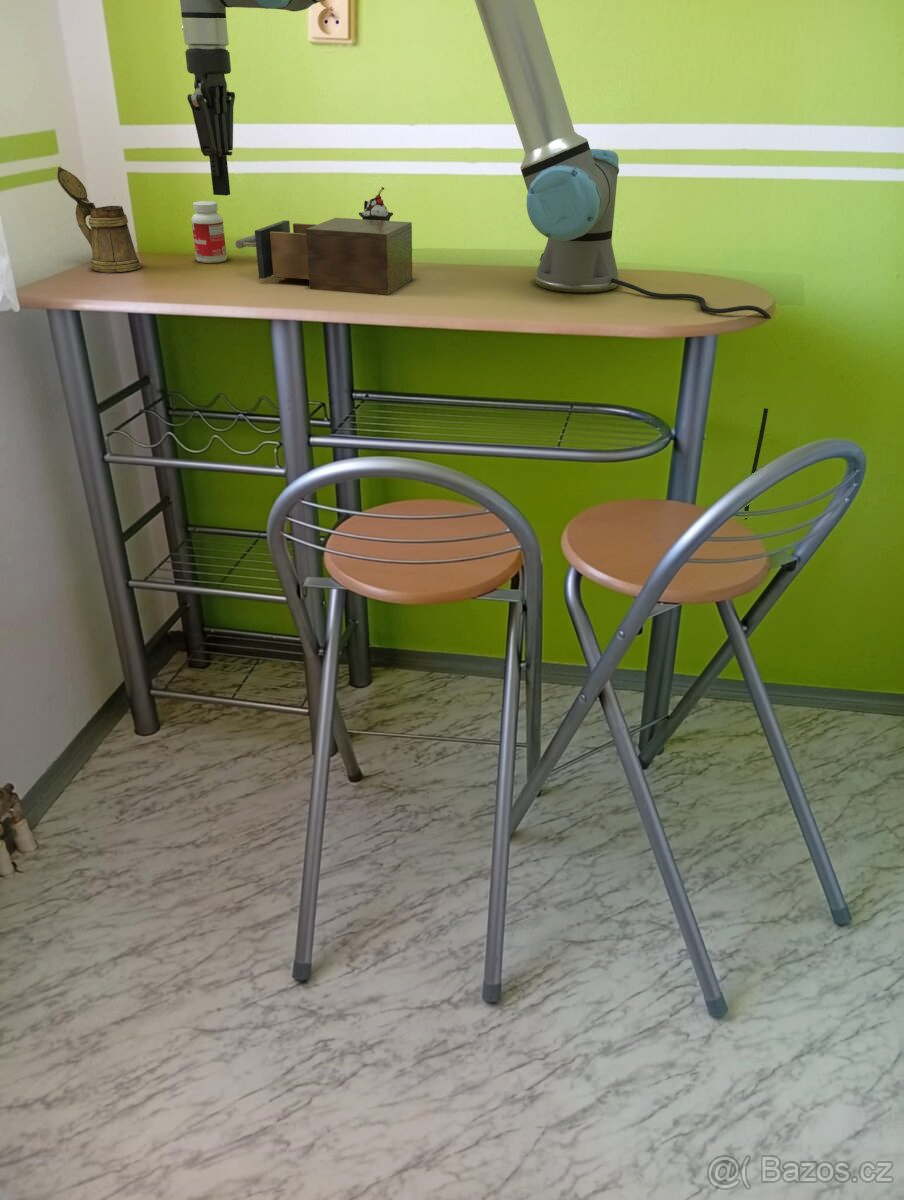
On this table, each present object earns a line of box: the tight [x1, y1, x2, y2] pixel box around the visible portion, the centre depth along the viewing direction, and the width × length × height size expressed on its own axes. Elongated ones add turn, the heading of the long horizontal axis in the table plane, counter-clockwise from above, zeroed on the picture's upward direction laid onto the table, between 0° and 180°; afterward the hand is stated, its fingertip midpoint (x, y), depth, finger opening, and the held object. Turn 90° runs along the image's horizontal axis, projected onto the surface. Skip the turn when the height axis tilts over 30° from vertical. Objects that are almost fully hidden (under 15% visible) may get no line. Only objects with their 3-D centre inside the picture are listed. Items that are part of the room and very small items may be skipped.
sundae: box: [358, 186, 394, 221], centre depth 185 cm, size 7×7×15 cm
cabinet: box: [306, 217, 413, 296], centre depth 174 cm, size 15×13×10 cm
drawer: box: [234, 220, 317, 280], centre depth 177 cm, size 20×12×8 cm, turn 73°
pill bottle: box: [191, 200, 228, 264], centre depth 191 cm, size 6×6×11 cm
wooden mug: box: [56, 166, 142, 274], centre depth 182 cm, size 9×14×18 cm, turn 76°
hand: (221, 194), depth 176 cm, fingers closed
